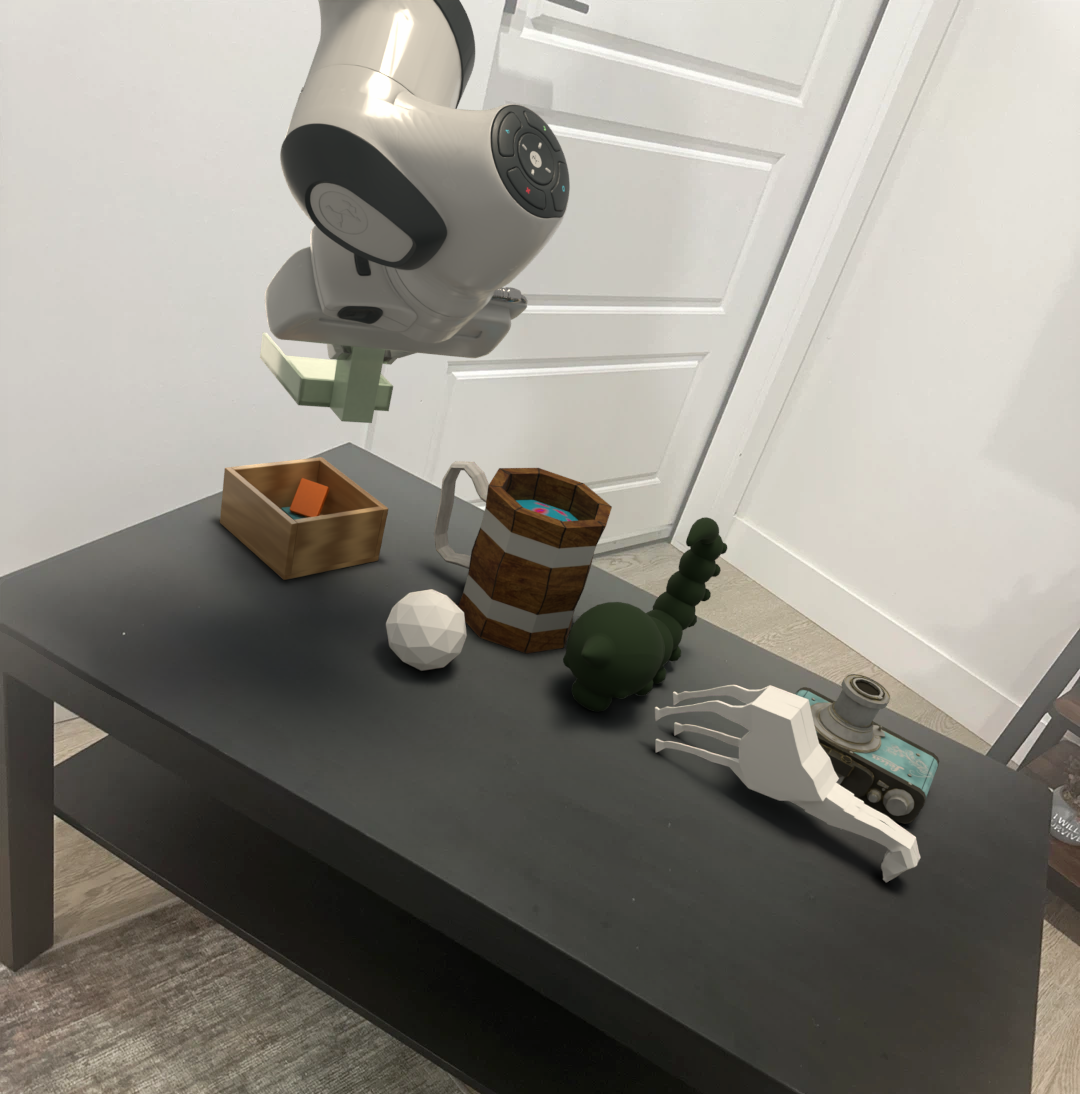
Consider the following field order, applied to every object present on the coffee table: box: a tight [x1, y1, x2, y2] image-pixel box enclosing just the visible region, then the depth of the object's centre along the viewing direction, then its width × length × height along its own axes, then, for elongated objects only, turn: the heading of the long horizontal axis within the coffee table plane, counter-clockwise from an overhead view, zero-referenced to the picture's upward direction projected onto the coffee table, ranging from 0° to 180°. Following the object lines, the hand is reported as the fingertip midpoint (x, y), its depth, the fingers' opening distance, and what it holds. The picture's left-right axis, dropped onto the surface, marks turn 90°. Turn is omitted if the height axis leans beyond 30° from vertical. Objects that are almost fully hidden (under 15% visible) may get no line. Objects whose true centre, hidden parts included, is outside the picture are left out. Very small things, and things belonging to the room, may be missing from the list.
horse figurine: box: [654, 684, 921, 883], centre depth 92 cm, size 5×16×25 cm
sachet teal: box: [281, 507, 307, 520], centre depth 111 cm, size 4×3×1 cm
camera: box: [794, 673, 940, 825], centre depth 100 cm, size 16×10×10 cm
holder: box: [219, 456, 389, 581], centre depth 107 cm, size 12×12×7 cm
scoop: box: [259, 332, 394, 424], centre depth 90 cm, size 14×9×10 cm, turn 31°
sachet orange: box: [290, 478, 329, 518], centre depth 111 cm, size 4×3×1 cm
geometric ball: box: [385, 588, 468, 672], centre depth 95 cm, size 8×8×8 cm
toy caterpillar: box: [562, 516, 728, 713], centre depth 99 cm, size 9×19×25 cm
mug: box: [433, 460, 613, 654], centre depth 105 cm, size 20×14×15 cm
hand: (358, 353), depth 87 cm, fingers closed on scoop, 3 cm apart
